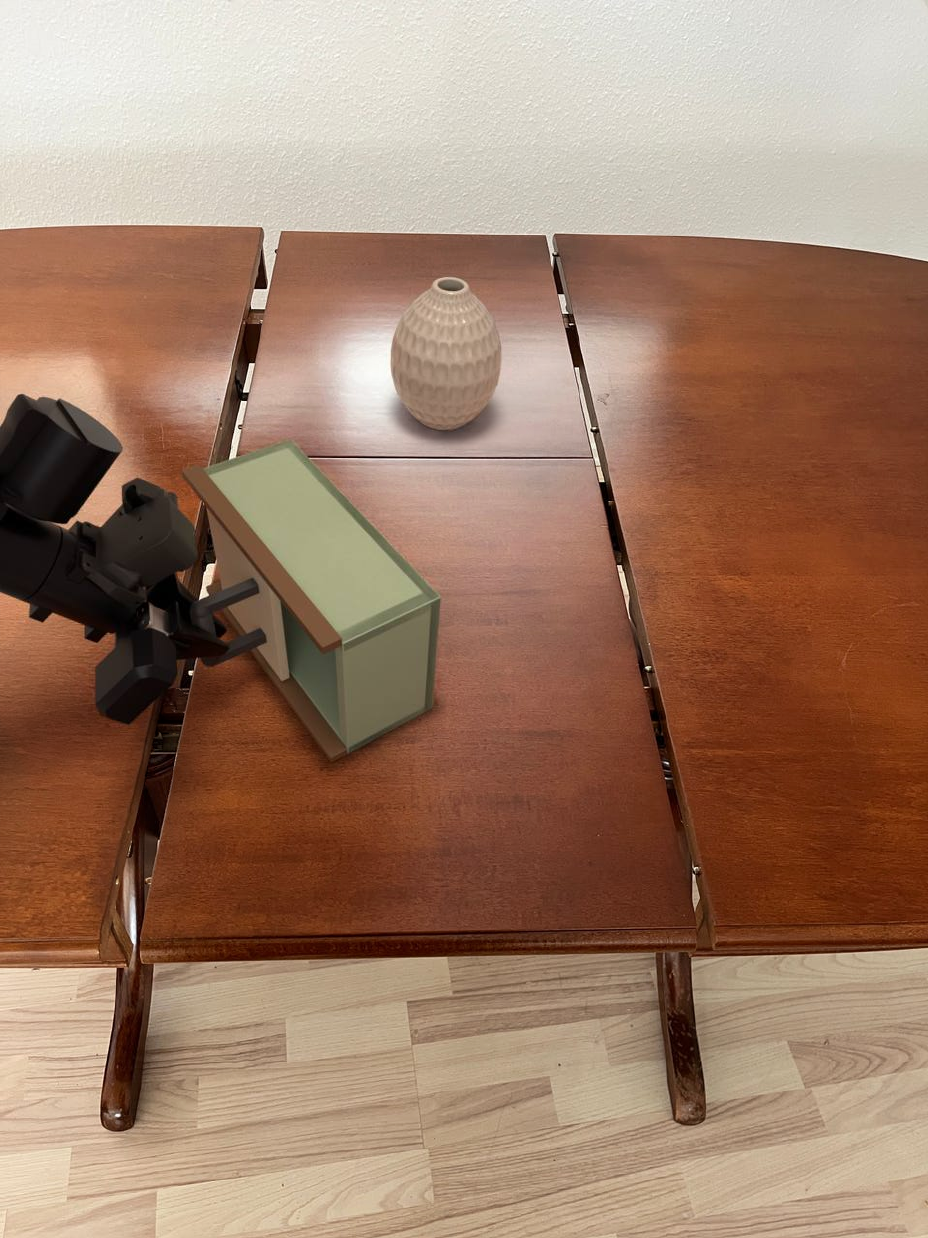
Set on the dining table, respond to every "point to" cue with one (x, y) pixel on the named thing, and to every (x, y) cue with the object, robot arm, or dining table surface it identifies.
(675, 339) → the dining table surface
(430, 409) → the vase
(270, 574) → the cabinet
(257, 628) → the door
